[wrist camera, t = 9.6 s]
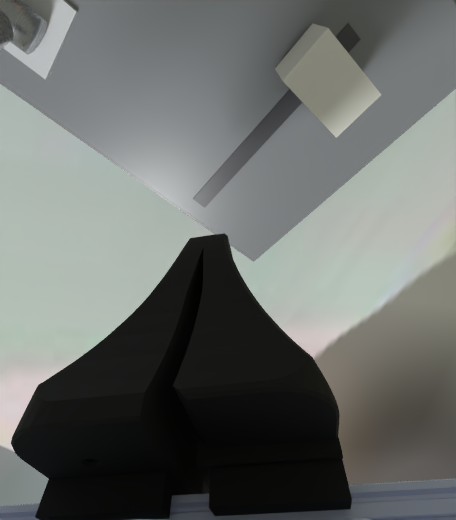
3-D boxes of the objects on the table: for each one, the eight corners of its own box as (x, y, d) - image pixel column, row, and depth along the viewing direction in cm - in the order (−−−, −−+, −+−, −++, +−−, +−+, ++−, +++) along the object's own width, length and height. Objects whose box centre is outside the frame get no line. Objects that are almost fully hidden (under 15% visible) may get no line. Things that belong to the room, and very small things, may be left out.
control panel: (-82, -14, 14) (-148, -18, 12) (40, -597, 8) (-49, -880, 5) (251, 234, 22) (253, 263, 20) (450, 51, 16) (491, 61, 13)
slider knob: (274, 69, 13) (282, 81, 11) (312, 23, 12) (327, 27, 11) (321, 119, 15) (336, 137, 13) (359, 81, 14) (381, 94, 12)
